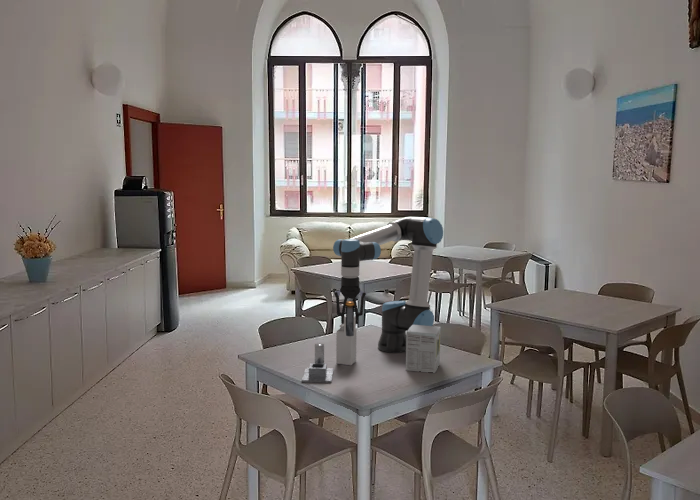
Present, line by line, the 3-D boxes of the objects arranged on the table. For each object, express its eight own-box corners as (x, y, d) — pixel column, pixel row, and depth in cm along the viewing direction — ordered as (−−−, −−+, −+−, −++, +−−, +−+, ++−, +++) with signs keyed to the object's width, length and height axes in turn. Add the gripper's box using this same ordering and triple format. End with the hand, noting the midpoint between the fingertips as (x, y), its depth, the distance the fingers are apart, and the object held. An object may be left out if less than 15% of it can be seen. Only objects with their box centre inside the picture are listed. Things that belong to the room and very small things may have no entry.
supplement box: (435, 373, 267) (436, 333, 265) (405, 370, 271) (405, 331, 269) (440, 364, 280) (441, 326, 278) (411, 361, 284) (412, 324, 282)
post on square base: (333, 370, 270) (333, 343, 269) (331, 383, 255) (331, 354, 253) (306, 370, 271) (305, 343, 269) (301, 382, 255) (301, 353, 253)
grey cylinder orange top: (355, 333, 265) (355, 301, 264) (355, 336, 261) (355, 303, 259) (344, 333, 265) (344, 301, 264) (344, 336, 261) (344, 303, 259)
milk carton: (356, 361, 284) (356, 320, 281) (351, 365, 277) (351, 323, 275) (341, 359, 286) (341, 318, 284) (336, 364, 279) (336, 322, 277)
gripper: (370, 275, 263) (369, 329, 266) (331, 274, 264) (330, 329, 267) (370, 278, 256) (369, 334, 259) (329, 277, 256) (329, 333, 259)
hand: (349, 331), depth 263 cm, fingers closed on grey cylinder orange top, 3 cm apart
